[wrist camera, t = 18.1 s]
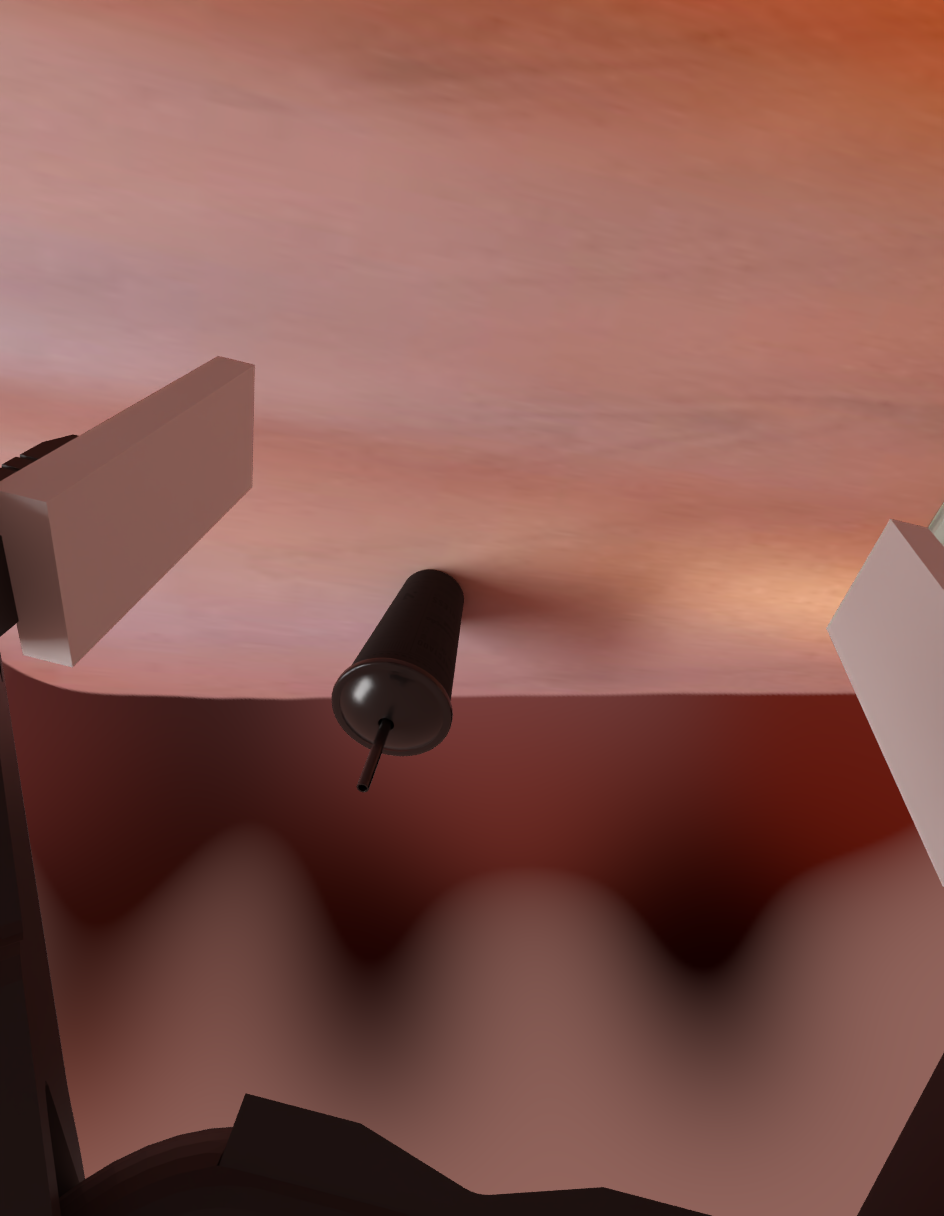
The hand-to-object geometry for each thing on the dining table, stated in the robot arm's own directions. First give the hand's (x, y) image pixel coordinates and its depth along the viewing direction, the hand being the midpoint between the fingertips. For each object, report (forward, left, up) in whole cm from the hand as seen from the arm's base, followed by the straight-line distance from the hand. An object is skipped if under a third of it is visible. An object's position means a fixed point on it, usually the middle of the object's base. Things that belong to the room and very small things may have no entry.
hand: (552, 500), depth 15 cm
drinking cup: (+25, -5, -33) cm, 42 cm away
